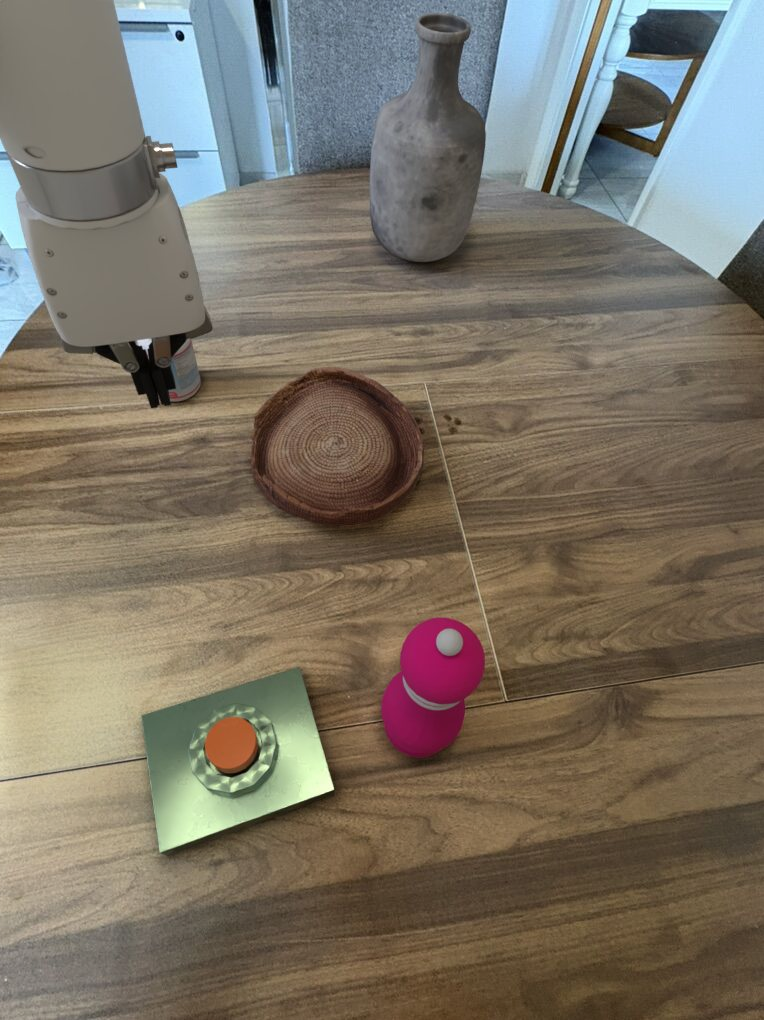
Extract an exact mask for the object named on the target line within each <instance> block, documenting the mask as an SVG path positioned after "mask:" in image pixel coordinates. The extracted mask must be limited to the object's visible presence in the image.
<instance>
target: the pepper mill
mask: <svg viewBox="0 0 764 1020" xmlns="http://www.w3.org/2000/svg"><path fill="white" fill-rule="evenodd" d="M484 650H485V649H484V646H483V645H482V642H481V640H480V638H479V637H478V635H477V634H476V632H475V631H473V630H472V628H470V627H469V626H468V625H466V624H465V623H463V622H462V621H459V620H457V619H454V618H450V617H439V616H438V617H431V618H429V619H426V620H424V621H422V622H420V623H418V624H417V625H415V626H414V627H413V628H412V629H411V630H410V632H409V633H408V634H407V635H406V637H405V639H404V641H403V643H402V645H401V649H400V655H399V667H400V671H399V672H397V673H396V674H395V675H394V676H393V677H392V678H391V680H390V681H389V682H388V685H387V686H386V688H385V689H384V692H383V694H382V698H381V704H380V710H381V718H382V723H383V727H384V733H385V735H386V737H387V739H388V741H389V743H390V744H391V745H392V746H393V747H394V748H395V749H396V750H397V751H398V752H400V753H402V754H403V755H406V756H408V757H411V758H418V759H419V758H420V759H421V758H428V757H430V756H431V757H432V756H433V755H435V754H437V753H438V752H440V751H441V750H443V749H445V748H446V747H448V746H449V745H451V744H452V743H453V742H454V741H455V740H456V738H457V737H458V736H459V734H460V732H461V731H462V728H463V725H464V722H465V717H466V699H467V698H468V697H469V696H471V695H472V694H473V693H474V692H475V690H476V689H478V687H479V685H480V683H481V682H482V679H483V677H484V673H485V669H486V655H485V651H484Z"/></svg>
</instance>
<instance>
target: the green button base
mask: <svg viewBox="0 0 764 1020" xmlns="http://www.w3.org/2000/svg"><path fill="white" fill-rule="evenodd" d="M228 717H239V718H242V719H244V720H246V721H247V722H249V723H250V724H251V726H252V727H253V729H254V731H255V733H256V736H257V739H258V751H257V754H256V756H255V758H254V760H253V762H252V763H251V764H250V765H249V766H248V767H247V768H245V769H244V770H242V771H240V772H237V773H224V772H221V771H219V770H218V769H216V768H215V767H214V766H213V764H212V763H211V762H210V760H209V759H208V757H207V755H206V751H205V741H206V737H207V735H208V733H209V731H210V729H211V728H212V727H213V726H214V725H215V724H216V723H217V722H219V721H220V720H222V719H225V718H228ZM140 718H141V724H142V732H143V740H144V747H145V753H146V761H147V770H148V777H149V784H150V791H151V798H152V799H151V800H152V806H153V813H154V815H153V816H154V821H155V828H156V835H157V836H156V837H157V843H158V852H159V854H161V855H163V856H165V857H170V856H173V855H176V854H179V853H181V852H184V851H187V850H190V849H192V848H195V847H198V846H201V845H204V844H207V843H209V842H212V841H214V840H217V839H220V838H223V837H225V836H228V835H230V834H231V835H232V834H233V833H237V832H239V831H243V830H244V829H247V828H250V827H252V826H256V825H258V824H261V823H264V822H266V821H269V820H273V819H275V818H277V817H280V816H283V815H286V814H288V813H291V812H293V811H296V810H299V809H302V808H305V807H307V806H311V805H313V804H316V803H318V802H321V801H324V800H327V799H330V798H333V797H334V796H335V791H336V789H335V785H334V782H333V779H332V775H331V771H330V768H329V765H328V764H329V763H328V761H327V758H326V754H325V750H324V747H323V744H322V740H321V736H320V733H319V730H318V726H317V722H316V719H315V714H314V712H313V708H312V705H311V701H310V698H309V694H308V690H307V687H306V684H305V680H304V676H303V673H302V669H301V666H297V667H294V668H291V669H287V670H285V671H281V672H277V673H274V674H270V675H267V676H264V677H262V678H258V679H254V680H252V681H248V682H245V683H242V684H238V685H235V686H232V687H228V688H226V689H222V690H219V691H216V692H213V693H210V694H206V695H203V696H199V697H197V698H193V699H190V700H187V701H183V702H180V703H177V704H174V705H171V706H170V705H169V706H167V707H164V708H161V709H158V710H154V711H151V712H148V713H147V712H146V713H143V714H141V716H140Z"/></svg>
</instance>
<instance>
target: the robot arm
mask: <svg viewBox="0 0 764 1020" xmlns="http://www.w3.org/2000/svg"><path fill="white" fill-rule="evenodd" d="M126 51H127V50H126V48H125V43H124V39H123V35H122V31H121V25H120V22H119V17H118V13H117V10H116V5H115V1H114V0H0V141H1V144H2V146H3V148H4V150H5V153H6V155H7V158H8V160H9V163H10V165H11V167H12V170H13V171H14V172H13V173H14V175H15V177H16V179H17V181H18V184H19V186H20V187H19V188H18V189H17V191H16V192H15V203H16V208H17V213H18V219H19V222H20V228H21V232H22V235H23V236H22V237H23V239H24V243H25V247H26V250H27V253H28V256H29V257H28V258H29V259H30V264H31V266H32V268H33V272H34V274H35V278H36V280H37V284H38V286H39V289H40V292H41V295H42V297H43V301H44V304H45V306H46V308H47V312H48V314H49V316H50V319H51V322H52V324H53V325H54V327H55V330H56V332H57V334H58V335H59V337H60V338H61V343H62V349H63V351H64V353H65V352H66V353H67V354H78V355H79V354H81V355H94V354H97V355H99V356H100V357H103V358H105V359H108V360H110V361H111V362H114V363H116V364H119V365H120V366H121V367H122V369H123V371H125V372H126V373H129V374H130V376H131V379H132V381H133V384H134V387H135V389H136V392H137V395H138V396H141V395H146V399H147V401H148V404H149V406H150V409H156V408H159V407H158V406H160V405H162V406H164V407H168V406H172V402H171V401H170V396H169V390H172V389H176V385H175V380H174V376H173V372H172V369H171V362H172V360H171V358H172V357H173V356H174V355H175V353H176V352H177V351H178V350H179V349H180V348H181V346H182V345H183V344H184V343H185V342H186V340H187V339H189V338H190V339H191V340H193V339H195V338H198V337H201V336H204V335H206V334H209V333H211V332H212V331H213V328H214V327H213V324H212V323H213V322H212V319H211V316H210V313H209V312H208V310H207V307H206V306H205V303H204V297H203V296H204V295H203V291H202V287H201V283H200V282H201V281H200V277H199V273H198V269H197V265H196V260H195V256H194V253H193V250H192V246H191V242H190V238H189V234H188V230H187V226H186V223H185V220H184V217H183V215H182V211H181V208H180V207H179V204H178V201H177V198H176V196H175V194H174V192H173V189H172V186H171V185H170V182H169V180H168V178H167V177H166V176H165V175H164V174H163V173H165V172H166V170H168V169H177V168H178V162H177V157H176V152H175V148H174V145H173V142H167V143H160V141H159V140H157V141H152V136H151V135H147V136H146V134H145V129H144V125H143V120H142V115H141V111H140V107H139V103H138V98H137V94H136V90H135V89H136V88H135V85H134V82H133V77H132V72H131V69H130V64H129V60H128V56H127V52H126ZM149 338H151V340H152V342H151V343H150V345H149V349H147V350H148V355H147V352H146V349H143V348H142V346H138V343H137V340H143V339H149ZM148 356H149V359H148ZM158 395H159V397H158Z"/></svg>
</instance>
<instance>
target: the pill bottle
mask: <svg viewBox="0 0 764 1020" xmlns="http://www.w3.org/2000/svg"><path fill="white" fill-rule="evenodd" d="M192 340H193V339H190V338H189V339H187V340H186V342H185V343H184V344H183V345H182V346H181V348H180V349H179V350H178V351H177V352H176V353H175V355H174V356H173V357H172V358H171V360H172V362H171V369H172V372H173V376H174V380H175V385H176V389H172V390H169V396H170V402H171V403H172V402H173V403H175V402H182V401H185V400H188V399H190V398H191V397H193V396H194V395H195V394H196V393H197V392H198V390H200V388H201V383H202V380H201V375H200V371H199V366H198V362H197V357H196V354H195V349H194V345H193V341H192ZM151 342H152V340H151V338H149V339H143V340H136V344H137V345H138V346H142V348H143V349H146V352H147V355H148V350H147V349H149V345H150V343H151ZM148 359H149V356H148ZM158 397H159V395H158Z"/></svg>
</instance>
